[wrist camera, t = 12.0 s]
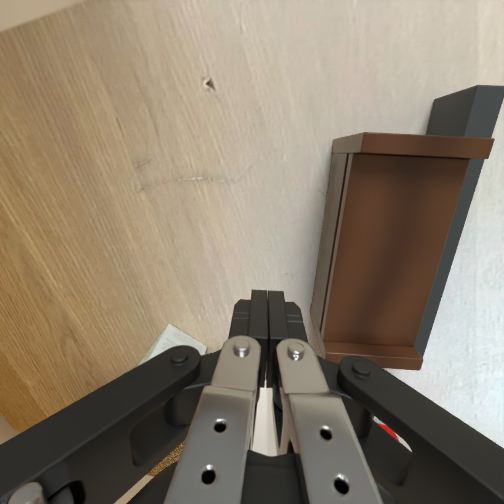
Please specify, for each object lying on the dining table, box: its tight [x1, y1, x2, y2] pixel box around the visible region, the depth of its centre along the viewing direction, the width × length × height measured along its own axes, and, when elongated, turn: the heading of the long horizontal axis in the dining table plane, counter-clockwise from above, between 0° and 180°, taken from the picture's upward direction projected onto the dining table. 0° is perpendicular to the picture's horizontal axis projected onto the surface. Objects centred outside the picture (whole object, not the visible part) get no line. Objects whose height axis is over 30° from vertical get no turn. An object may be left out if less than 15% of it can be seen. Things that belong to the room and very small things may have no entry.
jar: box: [253, 380, 277, 456], centre depth 30 cm, size 9×8×12 cm
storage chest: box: [310, 132, 495, 370], centre depth 24 cm, size 8×18×8 cm, turn 177°
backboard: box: [414, 85, 504, 358], centre depth 25 cm, size 2×24×5 cm, turn 177°
